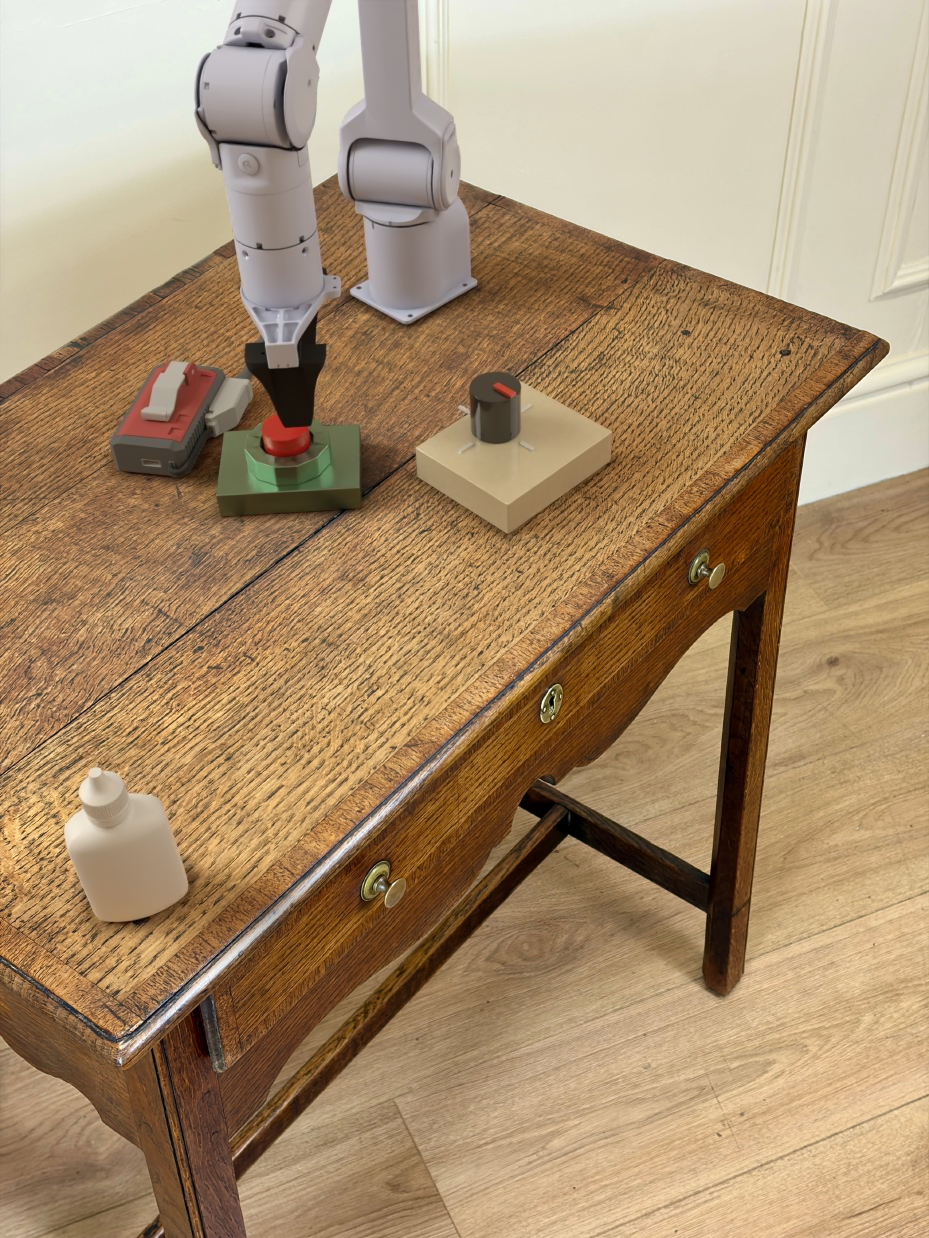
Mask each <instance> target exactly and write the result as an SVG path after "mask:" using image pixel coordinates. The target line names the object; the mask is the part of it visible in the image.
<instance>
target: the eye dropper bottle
mask: <svg viewBox="0 0 929 1238" xmlns="http://www.w3.org/2000/svg"><path fill="white" fill-rule="evenodd" d="M123 779H124V778H122V777H121V775H119V774H118V773H117V772H115V771H110V770H102V768H101V767H98V766H95V767H92V768H90V769H89V770H88V773H87V777H86V778H85V779H84V780H83V781H82V782H81V784H80V785H79V789H78V797H79V800H80V803H81V805H82V806H81V807H82V808H81V809H80V810H79V811H77V812H76V813H75V814H74V815H73V816H71V817H70V818H69V819H68V820H67V822H66V823H65V825H64V829H63V834H64V835H63V836H64V842H65V845H66V849H67V854H68V855H69V858H70V861H71V863H72V866H73V868H74V871H75V872H76V875H77V878H78V880H79V882H80V884H81V887H82V890H83V891H84V893H85V895H86V898H87V900H88V903H89V905H90V908H91V910H92V911H93V914H94V915H95V917H96V918H97V920H100V921H102V922H107V923H108V922H109V923H111V922H112V923H122V922H123V923H124V922H130V921H131V922H132V921H136V920H142V919H144V918H148V917H151V916H153V915H156V914H157V913H160V912H162V911H164V910H166V909H168V908H169V907H171V906H173V905H174V904H176V903H177V902H179V901H180V900H181V899H182V898H184V897H185V895H187V893H188V891H189V881H188V876H187V873H186V868H185V865H184V862H183V859H182V857H181V853H180V849H179V847H178V844H177V841H176V837H175V835H174V832H173V828H172V825H171V823H170V821H169V818H168V814H167V812H166V809H165V805H164V804H163V802H162V801H161V799H160V798H159V797H157V796H155V795H152V794H147V793H135V792H128V789H127V787H126V783H125V782H124V780H123Z"/></svg>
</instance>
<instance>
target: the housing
mask: <svg viewBox="0 0 929 1238" xmlns="http://www.w3.org/2000/svg"><path fill="white" fill-rule="evenodd" d="M263 423H264V421H260V422H259V423H257V424H256V425H255V426H254V428H252V429H246V430H245V429H243V430H228V431H226V432H224V433H223V435H222V443H221V444H222V445H221V451H220V460H219V462H220V463H219V470H218V478H217V486H216V494H215V496H216V497H215V498H216V502H217V506H218V511H219V516H220V517H237V516H238V517H239V516H254V515H255V516H256V515H257V516H258V515H272V514H289V513H292V514H293V513H306V512H323V511H326V512H327V511H341V510H342V511H343V510H359V509H362V508H363V442H362V431H361V425H360V423H351V424H350V423H349V424H333V425H323V423H321V421H320V420H319V419H315V418H313V421H312V425H311V426H309V434H310V441H311V443H310V446H309V448H308V449H307V450H306V451H305V452H304V453H302V454H299V455H297V456H294V457H281V458H278V457H275V456H272V455H270V454H268V453H267V451H266V450H265V447H264V442H263V436H262V430H261V428H262V424H263Z"/></svg>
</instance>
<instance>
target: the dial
mask: <svg viewBox="0 0 929 1238" xmlns="http://www.w3.org/2000/svg"><path fill="white" fill-rule="evenodd" d="M520 381H521V380H519V379H518V378H517V377H516V376H515V375H513V374H511V373H508V372H503V371H488V372H483V373H481V374H479V375H477V376H475V377H474V378H473V379H472V380H471V381H470V383H469V387H468V391H469V392H468V393H469V394H468V395H469V410H470V426H471V432H472V434H473V435H474V436H475V437H476V438H477V439H479V440H480V441H483V442H486V443H493V444H498V443H505V442H508V441H510V440H512V439H514V438H515V437H517V436H518V434H519V433H520V431H521V383H520Z"/></svg>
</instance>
